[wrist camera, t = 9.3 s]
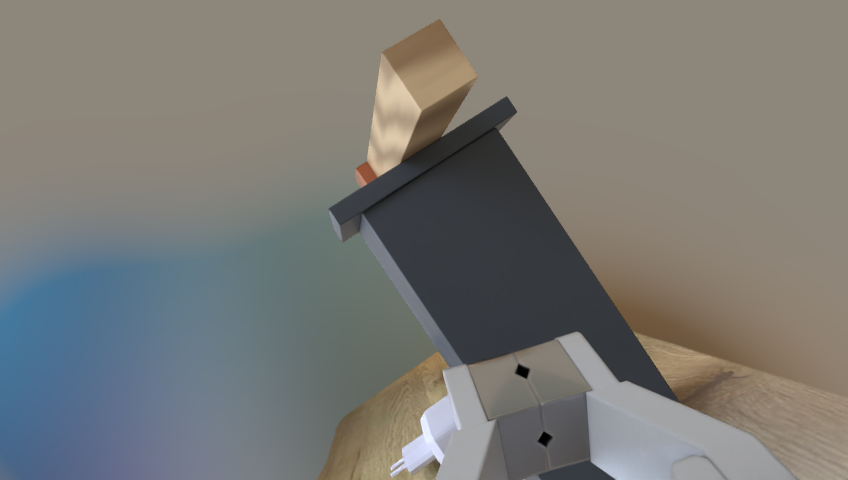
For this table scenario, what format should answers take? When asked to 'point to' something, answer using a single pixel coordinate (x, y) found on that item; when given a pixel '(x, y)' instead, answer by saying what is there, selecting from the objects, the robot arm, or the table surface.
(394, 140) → the stick
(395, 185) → the stand
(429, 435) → the charger
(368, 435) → the table surface
